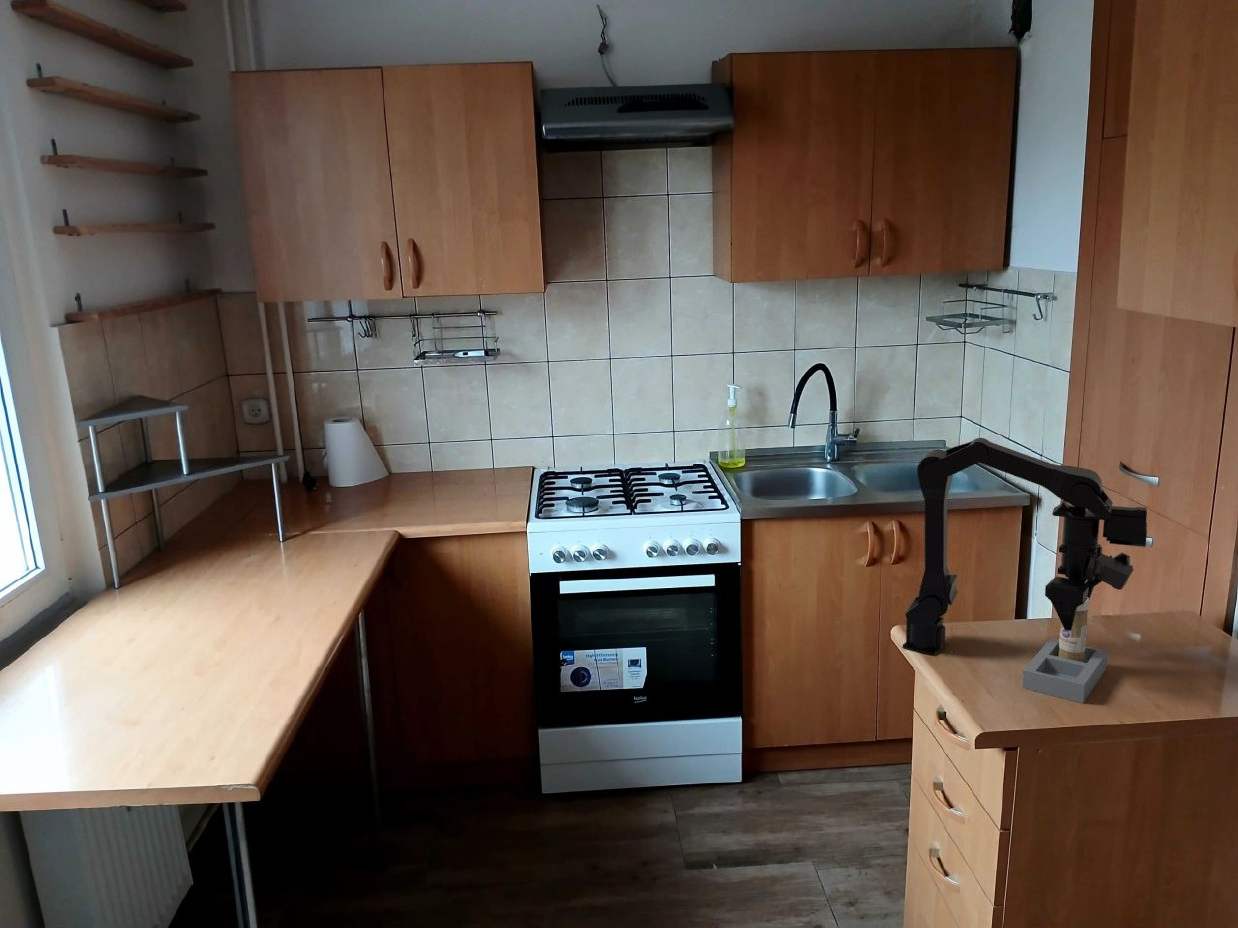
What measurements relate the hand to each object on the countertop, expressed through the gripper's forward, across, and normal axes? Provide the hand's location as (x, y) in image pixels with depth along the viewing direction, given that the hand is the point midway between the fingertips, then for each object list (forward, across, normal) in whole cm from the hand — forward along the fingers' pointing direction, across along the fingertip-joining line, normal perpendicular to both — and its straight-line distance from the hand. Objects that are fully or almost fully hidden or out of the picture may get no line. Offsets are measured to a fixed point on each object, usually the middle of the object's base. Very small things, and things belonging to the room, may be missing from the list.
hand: (1074, 621), depth 169 cm
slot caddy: (+10, -4, 0) cm, 10 cm away
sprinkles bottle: (+9, 0, 0) cm, 9 cm away
